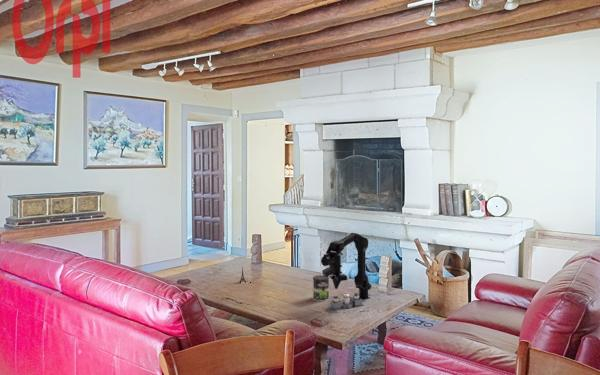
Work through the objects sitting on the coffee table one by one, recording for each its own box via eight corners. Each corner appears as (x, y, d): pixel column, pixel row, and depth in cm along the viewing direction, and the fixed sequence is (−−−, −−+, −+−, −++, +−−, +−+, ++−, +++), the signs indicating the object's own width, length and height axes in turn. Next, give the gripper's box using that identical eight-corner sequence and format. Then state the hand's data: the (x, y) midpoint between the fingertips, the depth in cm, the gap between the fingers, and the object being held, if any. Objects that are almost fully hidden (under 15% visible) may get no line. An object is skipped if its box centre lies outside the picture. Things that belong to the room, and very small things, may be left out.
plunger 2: (353, 300, 281) (353, 293, 281) (357, 299, 282) (357, 293, 282) (355, 301, 278) (355, 295, 278) (360, 301, 280) (360, 294, 279)
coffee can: (331, 300, 290) (331, 278, 289) (315, 302, 287) (315, 280, 286) (326, 295, 300) (325, 274, 299) (311, 297, 297) (310, 276, 296)
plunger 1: (332, 303, 276) (332, 296, 276) (337, 302, 277) (337, 295, 277) (334, 304, 273) (334, 297, 273) (339, 304, 274) (339, 297, 274)
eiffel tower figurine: (240, 287, 324) (240, 268, 323) (230, 284, 330) (230, 266, 329) (255, 282, 336) (254, 264, 335) (245, 280, 342) (244, 262, 341)
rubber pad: (325, 311, 270) (325, 310, 270) (334, 310, 272) (334, 309, 272) (329, 314, 265) (329, 313, 265) (338, 313, 267) (338, 312, 267)
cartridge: (342, 305, 279) (342, 294, 279) (347, 304, 280) (347, 293, 280) (345, 307, 276) (345, 296, 275) (350, 306, 277) (350, 295, 277)
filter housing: (327, 306, 278) (327, 300, 278) (358, 302, 286) (358, 295, 286) (333, 311, 270) (333, 304, 270) (365, 306, 278) (365, 299, 278)
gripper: (317, 261, 279) (317, 286, 280) (330, 268, 262) (330, 294, 263) (333, 259, 283) (333, 284, 284) (347, 266, 266) (347, 292, 267)
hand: (336, 288), depth 275 cm, fingers closed
